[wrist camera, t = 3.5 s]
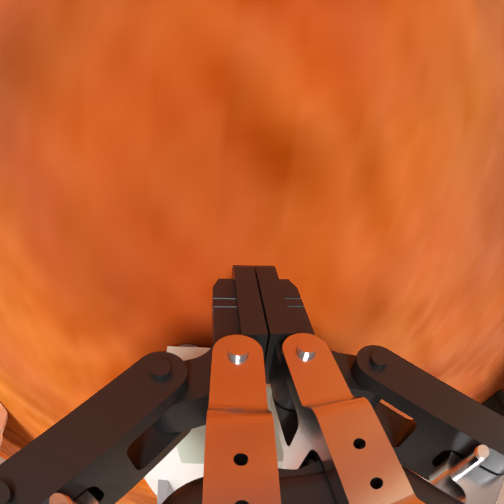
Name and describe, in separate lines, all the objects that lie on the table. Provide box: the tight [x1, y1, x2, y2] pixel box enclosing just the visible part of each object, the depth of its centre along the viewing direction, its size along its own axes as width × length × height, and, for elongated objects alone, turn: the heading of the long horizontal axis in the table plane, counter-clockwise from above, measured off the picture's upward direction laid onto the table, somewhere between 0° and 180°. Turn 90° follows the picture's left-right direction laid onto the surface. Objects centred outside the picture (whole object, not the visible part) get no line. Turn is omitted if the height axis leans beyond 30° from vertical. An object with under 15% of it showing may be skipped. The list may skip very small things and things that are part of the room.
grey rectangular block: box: [167, 344, 284, 464], centre depth 17 cm, size 8×10×4 cm
